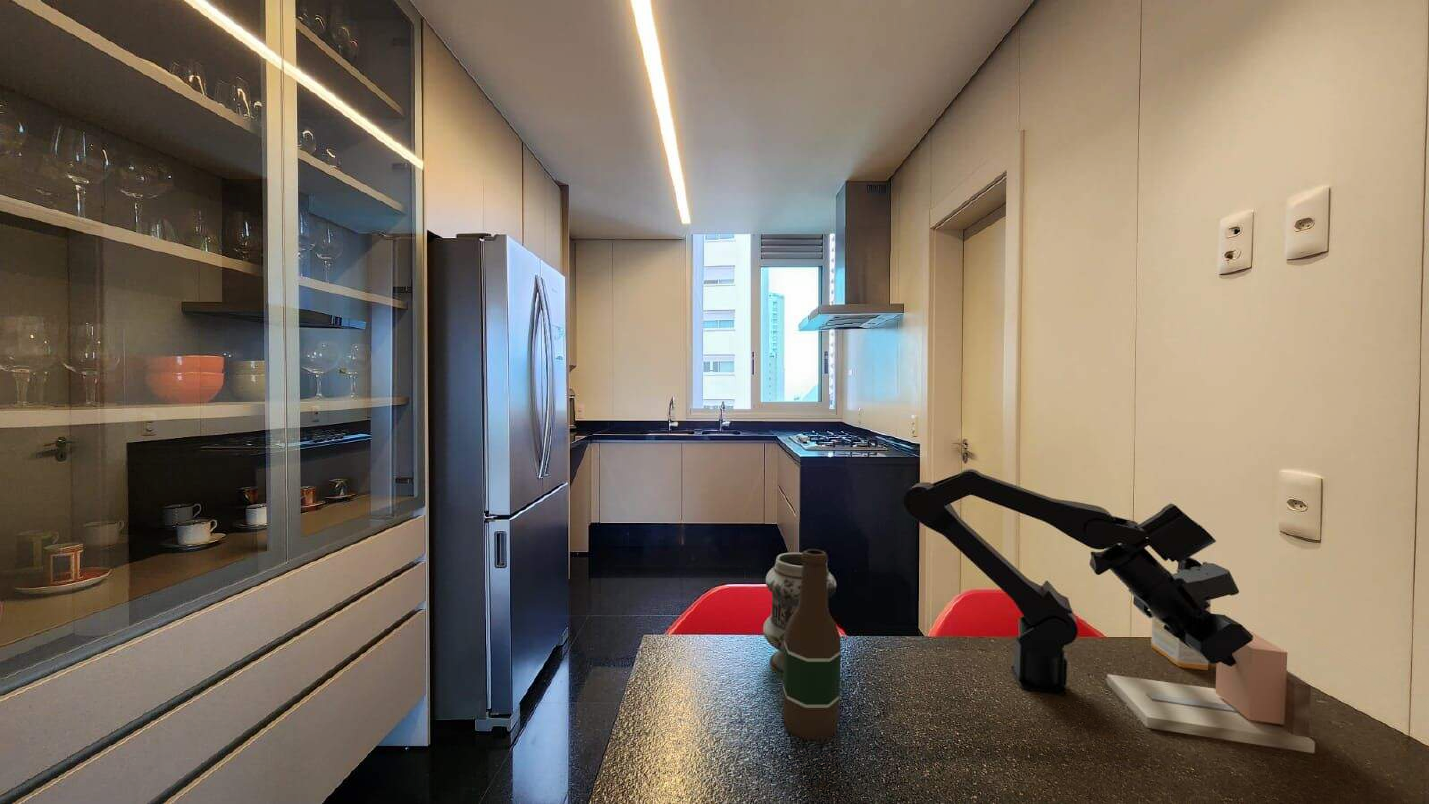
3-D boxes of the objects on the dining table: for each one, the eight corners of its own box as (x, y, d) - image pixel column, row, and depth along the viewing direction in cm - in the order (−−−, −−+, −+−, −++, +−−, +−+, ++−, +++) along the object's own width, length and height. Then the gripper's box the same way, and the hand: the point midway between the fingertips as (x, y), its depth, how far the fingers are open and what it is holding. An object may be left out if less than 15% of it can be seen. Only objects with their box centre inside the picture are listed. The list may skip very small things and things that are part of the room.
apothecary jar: (825, 648, 96) (828, 549, 96) (843, 685, 84) (847, 571, 84) (758, 647, 96) (761, 547, 95) (767, 684, 84) (770, 570, 83)
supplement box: (1210, 671, 92) (1213, 595, 91) (1177, 667, 93) (1181, 592, 92) (1178, 649, 100) (1181, 579, 100) (1149, 646, 101) (1152, 577, 101)
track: (1146, 727, 75) (1149, 667, 75) (1106, 683, 87) (1108, 631, 87) (1314, 753, 70) (1317, 689, 70) (1248, 702, 82) (1250, 648, 82)
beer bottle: (841, 715, 76) (846, 547, 76) (835, 748, 69) (840, 563, 68) (787, 703, 79) (792, 541, 78) (775, 734, 71) (781, 556, 71)
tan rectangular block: (1248, 719, 74) (1252, 648, 74) (1215, 692, 81) (1218, 627, 81) (1284, 724, 73) (1287, 652, 73) (1247, 697, 80) (1250, 630, 80)
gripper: (1238, 564, 70) (1340, 661, 67) (1158, 530, 88) (1236, 606, 85) (1164, 615, 72) (1260, 712, 69) (1101, 571, 90) (1175, 647, 87)
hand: (1231, 663), depth 78 cm, fingers closed, pressing on tan rectangular block
